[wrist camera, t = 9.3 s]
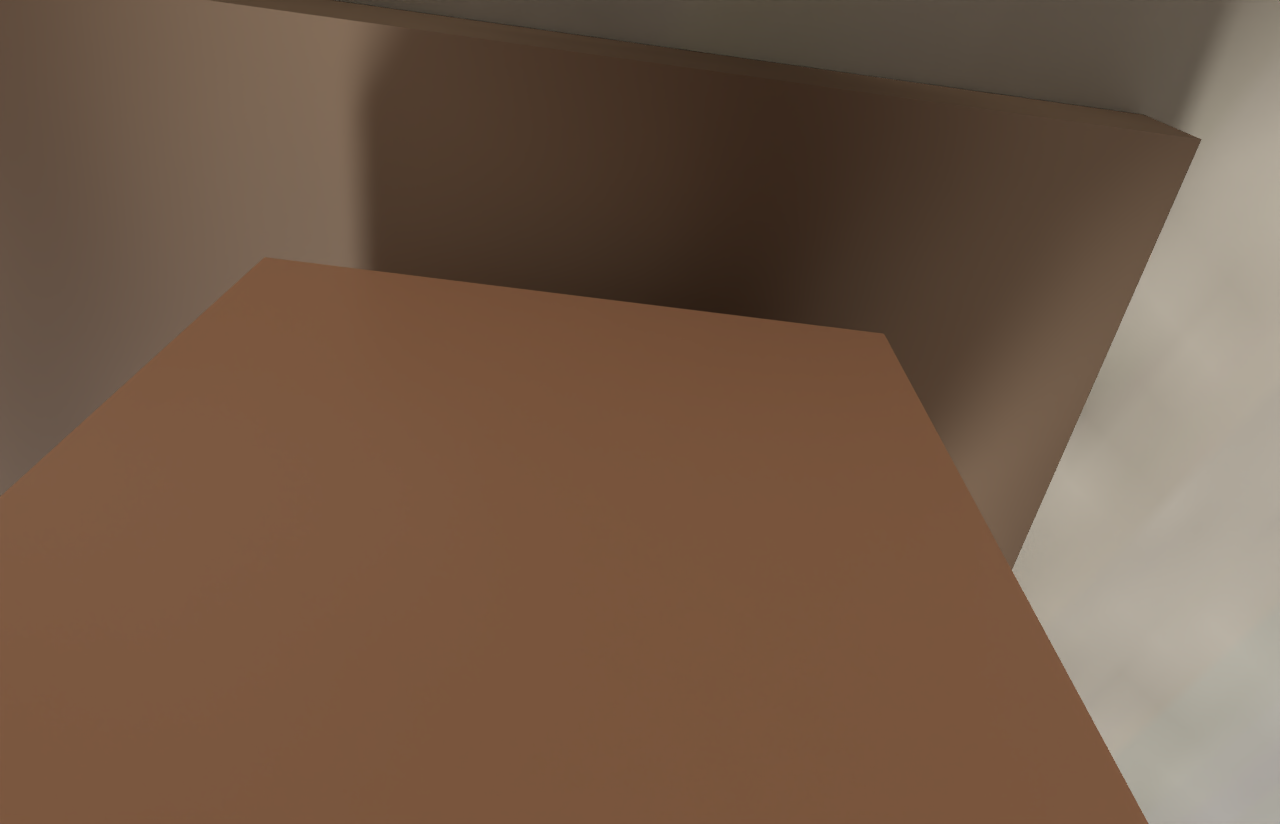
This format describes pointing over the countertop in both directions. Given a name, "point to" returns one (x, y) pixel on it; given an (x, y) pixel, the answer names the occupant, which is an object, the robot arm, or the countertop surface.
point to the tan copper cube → (520, 580)
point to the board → (560, 201)
